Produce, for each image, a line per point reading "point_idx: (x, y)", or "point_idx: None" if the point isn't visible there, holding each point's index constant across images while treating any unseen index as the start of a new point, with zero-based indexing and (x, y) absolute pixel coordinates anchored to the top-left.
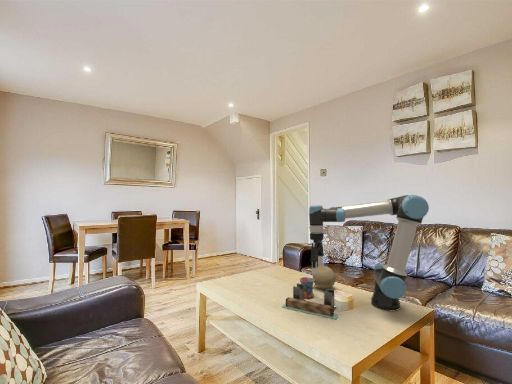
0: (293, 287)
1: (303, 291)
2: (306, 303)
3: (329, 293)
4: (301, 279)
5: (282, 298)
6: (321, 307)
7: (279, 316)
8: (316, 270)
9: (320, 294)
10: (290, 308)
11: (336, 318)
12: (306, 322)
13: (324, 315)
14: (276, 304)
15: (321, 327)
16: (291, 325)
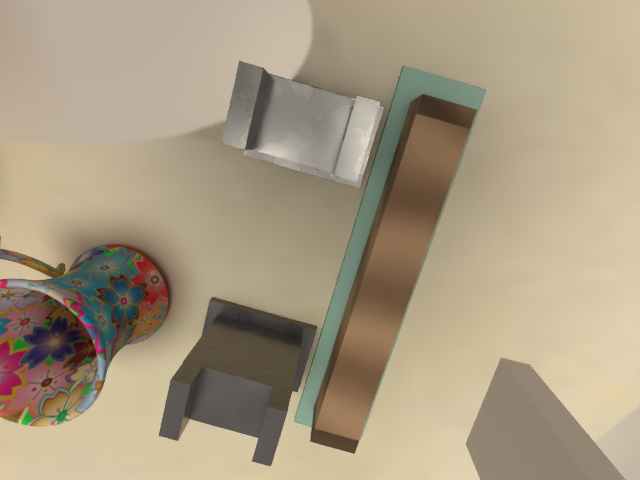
0: (272, 459)
1: (203, 348)
2: (402, 311)
3: (373, 123)
4: (17, 401)
5: (214, 443)
6: (444, 197)
7: None
8: (567, 424)
9: (46, 193)
10: (377, 389)
11: (468, 86)
12: (548, 284)
13: None
14: (321, 468)
15: (607, 193)
16: (597, 366)
